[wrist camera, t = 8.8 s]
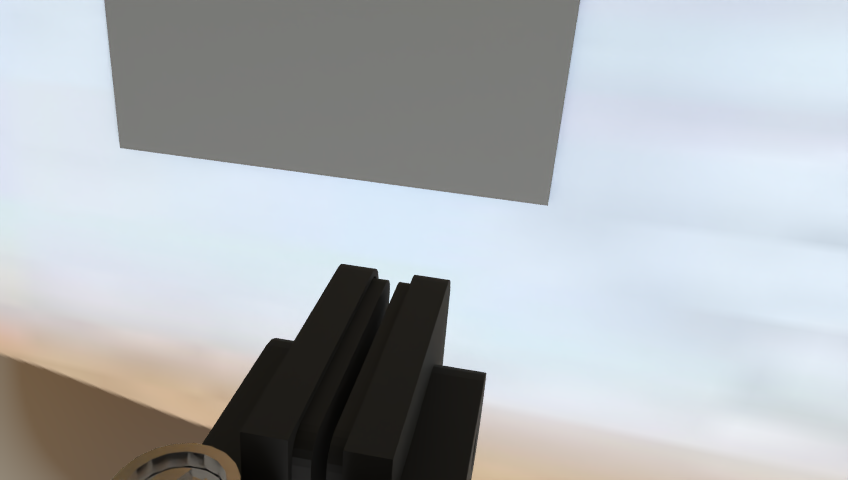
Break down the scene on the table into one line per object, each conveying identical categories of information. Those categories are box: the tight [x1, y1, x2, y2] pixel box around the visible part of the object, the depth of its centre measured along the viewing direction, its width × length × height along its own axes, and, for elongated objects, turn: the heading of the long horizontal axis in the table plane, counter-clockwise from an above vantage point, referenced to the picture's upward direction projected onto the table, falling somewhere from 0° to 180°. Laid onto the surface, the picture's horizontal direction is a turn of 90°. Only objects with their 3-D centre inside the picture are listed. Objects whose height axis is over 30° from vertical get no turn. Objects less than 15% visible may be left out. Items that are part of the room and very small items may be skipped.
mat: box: [105, 0, 580, 206], centre depth 38 cm, size 24×18×1 cm
